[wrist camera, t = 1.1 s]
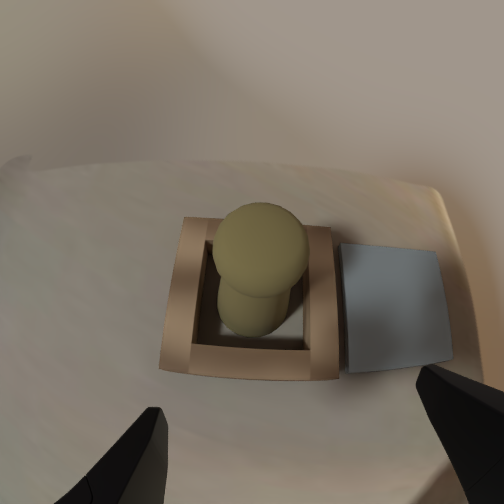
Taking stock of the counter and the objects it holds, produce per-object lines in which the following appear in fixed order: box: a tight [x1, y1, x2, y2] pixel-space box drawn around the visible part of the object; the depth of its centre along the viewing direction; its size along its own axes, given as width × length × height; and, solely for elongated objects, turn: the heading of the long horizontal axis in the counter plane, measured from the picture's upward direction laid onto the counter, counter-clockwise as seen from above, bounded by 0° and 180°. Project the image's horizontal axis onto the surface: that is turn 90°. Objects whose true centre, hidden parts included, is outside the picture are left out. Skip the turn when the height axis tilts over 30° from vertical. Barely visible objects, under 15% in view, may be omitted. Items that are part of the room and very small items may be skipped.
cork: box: [213, 203, 310, 337], centre depth 18 cm, size 6×6×11 cm
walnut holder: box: [159, 217, 339, 381], centre depth 22 cm, size 13×13×2 cm
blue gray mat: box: [338, 243, 453, 374], centre depth 23 cm, size 12×12×1 cm
